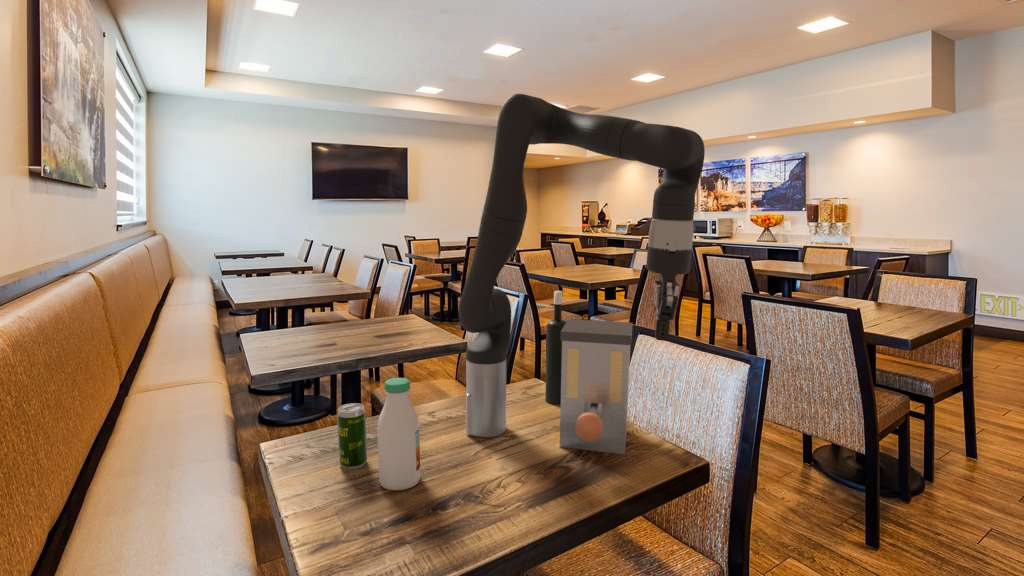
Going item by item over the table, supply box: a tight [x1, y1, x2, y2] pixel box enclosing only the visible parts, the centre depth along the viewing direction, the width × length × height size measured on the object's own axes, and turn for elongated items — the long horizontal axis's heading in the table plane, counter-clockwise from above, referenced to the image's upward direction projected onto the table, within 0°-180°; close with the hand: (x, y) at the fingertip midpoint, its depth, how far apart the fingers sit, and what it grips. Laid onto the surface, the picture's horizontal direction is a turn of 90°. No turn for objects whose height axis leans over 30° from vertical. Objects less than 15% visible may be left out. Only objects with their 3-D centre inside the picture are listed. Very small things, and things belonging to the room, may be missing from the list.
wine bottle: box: [544, 290, 567, 405], centre depth 143 cm, size 6×6×30 cm
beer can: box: [336, 402, 368, 471], centre depth 109 cm, size 5×5×12 cm
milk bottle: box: [377, 377, 421, 492], centre depth 102 cm, size 8×8×20 cm
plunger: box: [575, 403, 603, 441], centre depth 113 cm, size 14×5×5 cm, turn 166°
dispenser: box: [559, 318, 633, 455], centre depth 120 cm, size 13×15×26 cm
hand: (661, 339), depth 99 cm, fingers closed
